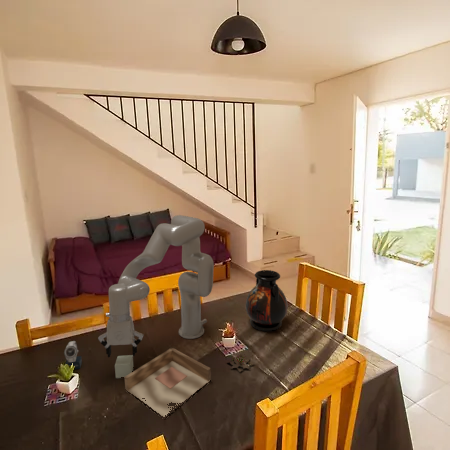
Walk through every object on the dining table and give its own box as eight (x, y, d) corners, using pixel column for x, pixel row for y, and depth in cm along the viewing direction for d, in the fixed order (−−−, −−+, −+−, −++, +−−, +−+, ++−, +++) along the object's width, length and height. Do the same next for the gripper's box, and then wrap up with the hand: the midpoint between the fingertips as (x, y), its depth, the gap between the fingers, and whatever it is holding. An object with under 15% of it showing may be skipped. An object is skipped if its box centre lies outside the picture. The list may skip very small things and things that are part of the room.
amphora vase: (238, 319, 177) (238, 270, 170) (271, 311, 186) (273, 264, 179) (258, 339, 158) (260, 285, 151) (295, 329, 167) (298, 278, 160)
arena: (172, 359, 142) (172, 347, 141) (210, 381, 129) (210, 368, 128) (125, 390, 124) (124, 376, 123) (164, 419, 111) (163, 404, 109)
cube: (118, 368, 137) (117, 356, 135) (133, 367, 137) (132, 355, 136) (115, 378, 131) (114, 365, 130) (131, 377, 132) (130, 364, 130)
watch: (64, 373, 133) (61, 349, 131) (68, 361, 141) (66, 338, 139) (79, 371, 135) (76, 347, 132) (82, 359, 142) (80, 337, 140)
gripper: (94, 321, 124) (97, 361, 127) (141, 319, 126) (142, 359, 129) (99, 311, 131) (102, 350, 134) (143, 310, 133) (145, 348, 136)
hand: (122, 354), depth 132 cm, fingers open, 9 cm apart
